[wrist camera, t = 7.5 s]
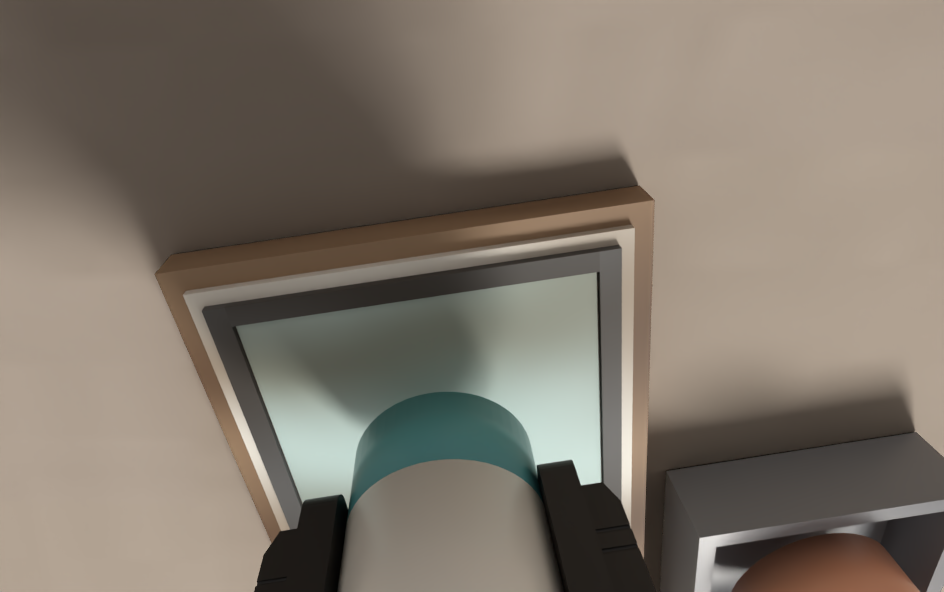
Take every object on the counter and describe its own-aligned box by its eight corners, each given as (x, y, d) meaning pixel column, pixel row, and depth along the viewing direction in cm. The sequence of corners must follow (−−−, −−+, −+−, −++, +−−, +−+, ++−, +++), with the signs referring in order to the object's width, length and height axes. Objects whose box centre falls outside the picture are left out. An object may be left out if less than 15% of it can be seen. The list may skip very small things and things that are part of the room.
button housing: (665, 471, 19) (699, 538, 16) (916, 432, 19) (982, 493, 16) (657, 623, 22) (684, 693, 20) (864, 590, 23) (913, 656, 20)
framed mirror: (171, 254, 14) (147, 282, 12) (639, 185, 14) (661, 206, 13) (352, 694, 23) (349, 735, 22) (631, 650, 23) (643, 687, 22)
